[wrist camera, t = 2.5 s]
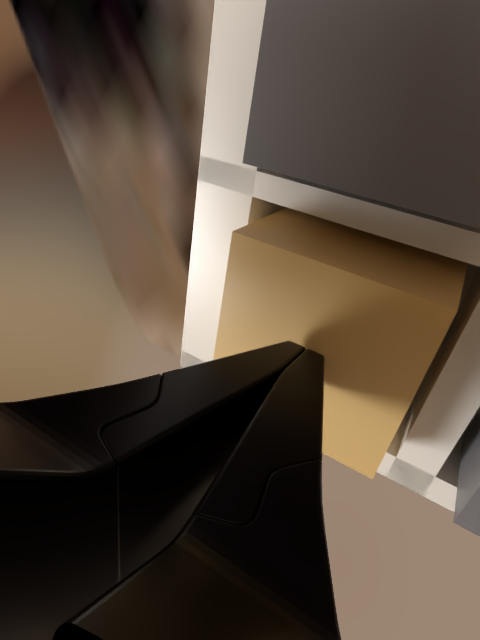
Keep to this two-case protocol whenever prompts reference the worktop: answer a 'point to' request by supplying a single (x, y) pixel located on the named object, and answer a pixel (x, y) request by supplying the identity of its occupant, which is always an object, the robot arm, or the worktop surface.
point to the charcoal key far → (469, 481)
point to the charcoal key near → (373, 100)
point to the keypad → (341, 207)
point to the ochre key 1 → (342, 318)
